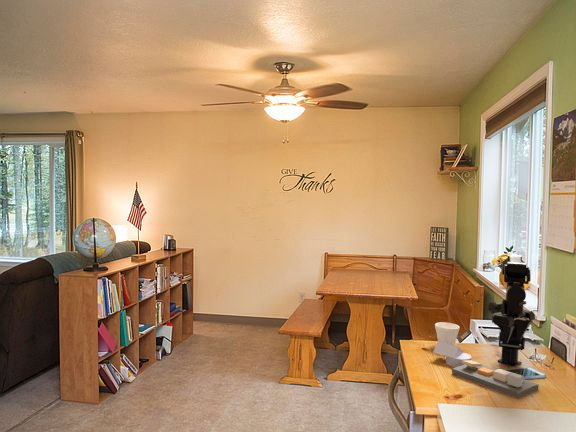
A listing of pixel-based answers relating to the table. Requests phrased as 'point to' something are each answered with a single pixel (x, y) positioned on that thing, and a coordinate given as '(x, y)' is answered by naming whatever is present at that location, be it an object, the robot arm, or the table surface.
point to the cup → (447, 332)
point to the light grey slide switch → (515, 379)
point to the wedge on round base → (451, 354)
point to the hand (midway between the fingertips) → (512, 341)
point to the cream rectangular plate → (471, 363)
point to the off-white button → (501, 375)
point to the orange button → (485, 371)
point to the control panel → (494, 381)
